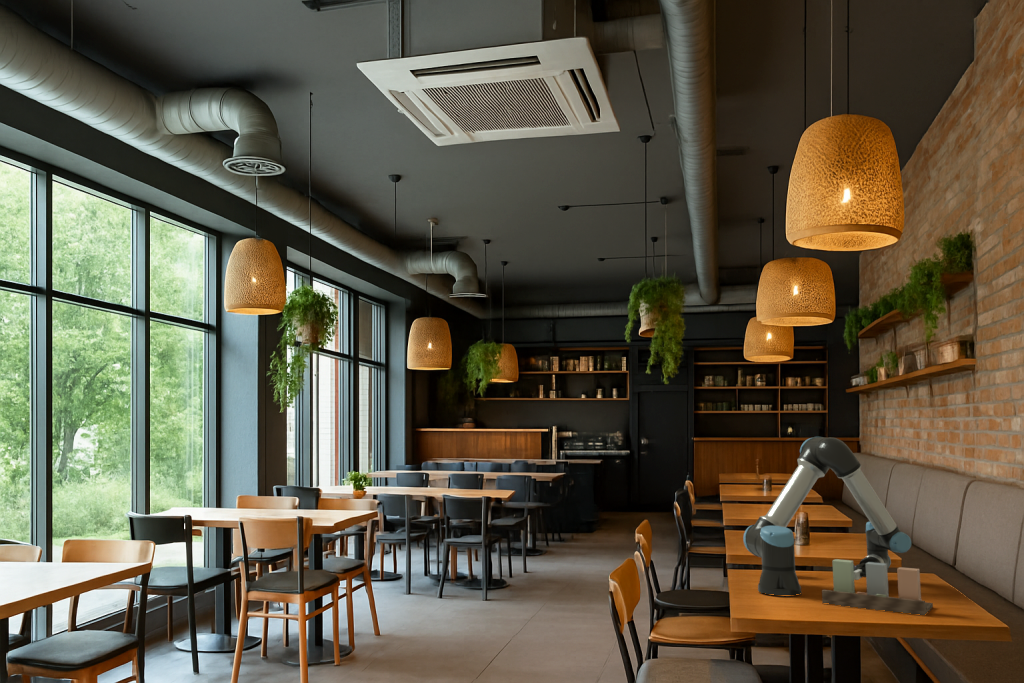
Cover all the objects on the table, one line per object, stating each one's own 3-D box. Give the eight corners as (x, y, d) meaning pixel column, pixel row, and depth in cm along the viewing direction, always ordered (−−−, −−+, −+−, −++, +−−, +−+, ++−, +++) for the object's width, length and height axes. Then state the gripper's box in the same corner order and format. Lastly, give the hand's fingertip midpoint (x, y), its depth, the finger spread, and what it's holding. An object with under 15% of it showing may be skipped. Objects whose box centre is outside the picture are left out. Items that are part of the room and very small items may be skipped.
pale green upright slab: (834, 595, 284) (832, 560, 286) (837, 593, 288) (835, 559, 289) (852, 597, 281) (850, 562, 282) (855, 595, 284) (853, 560, 285)
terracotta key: (899, 606, 267) (897, 569, 269) (901, 603, 271) (899, 567, 272) (919, 608, 264) (917, 570, 265) (921, 606, 267) (919, 568, 268)
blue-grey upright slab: (867, 599, 278) (865, 563, 279) (870, 597, 281) (868, 562, 282) (886, 601, 274) (884, 565, 275) (888, 599, 277) (886, 563, 279)
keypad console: (822, 603, 280) (821, 588, 280) (833, 596, 291) (833, 581, 291) (924, 616, 261) (924, 599, 261) (932, 607, 272) (931, 592, 273)
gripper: (890, 578, 305) (875, 588, 286) (854, 574, 313) (836, 584, 294) (889, 557, 306) (874, 567, 287) (853, 554, 314) (835, 563, 295)
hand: (855, 575), depth 291 cm, fingers closed
